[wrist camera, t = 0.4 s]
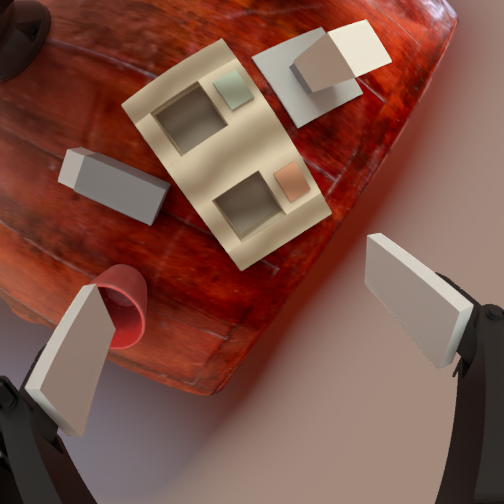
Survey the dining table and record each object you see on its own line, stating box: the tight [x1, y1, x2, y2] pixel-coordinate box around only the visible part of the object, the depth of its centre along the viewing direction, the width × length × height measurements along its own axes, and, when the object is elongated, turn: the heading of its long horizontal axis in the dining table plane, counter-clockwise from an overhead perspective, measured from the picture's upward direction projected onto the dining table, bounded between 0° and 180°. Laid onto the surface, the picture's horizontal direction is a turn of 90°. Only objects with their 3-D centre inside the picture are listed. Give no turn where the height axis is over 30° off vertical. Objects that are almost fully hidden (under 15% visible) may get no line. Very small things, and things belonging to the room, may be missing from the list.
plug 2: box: [289, 20, 392, 94], centre depth 26 cm, size 5×5×15 cm
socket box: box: [121, 39, 332, 271], centre depth 34 cm, size 26×14×6 cm, turn 32°
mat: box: [251, 27, 363, 128], centre depth 33 cm, size 12×12×1 cm
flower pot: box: [88, 264, 147, 349], centre depth 38 cm, size 11×11×10 cm
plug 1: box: [58, 147, 171, 226], centre depth 34 cm, size 15×5×5 cm, turn 62°
